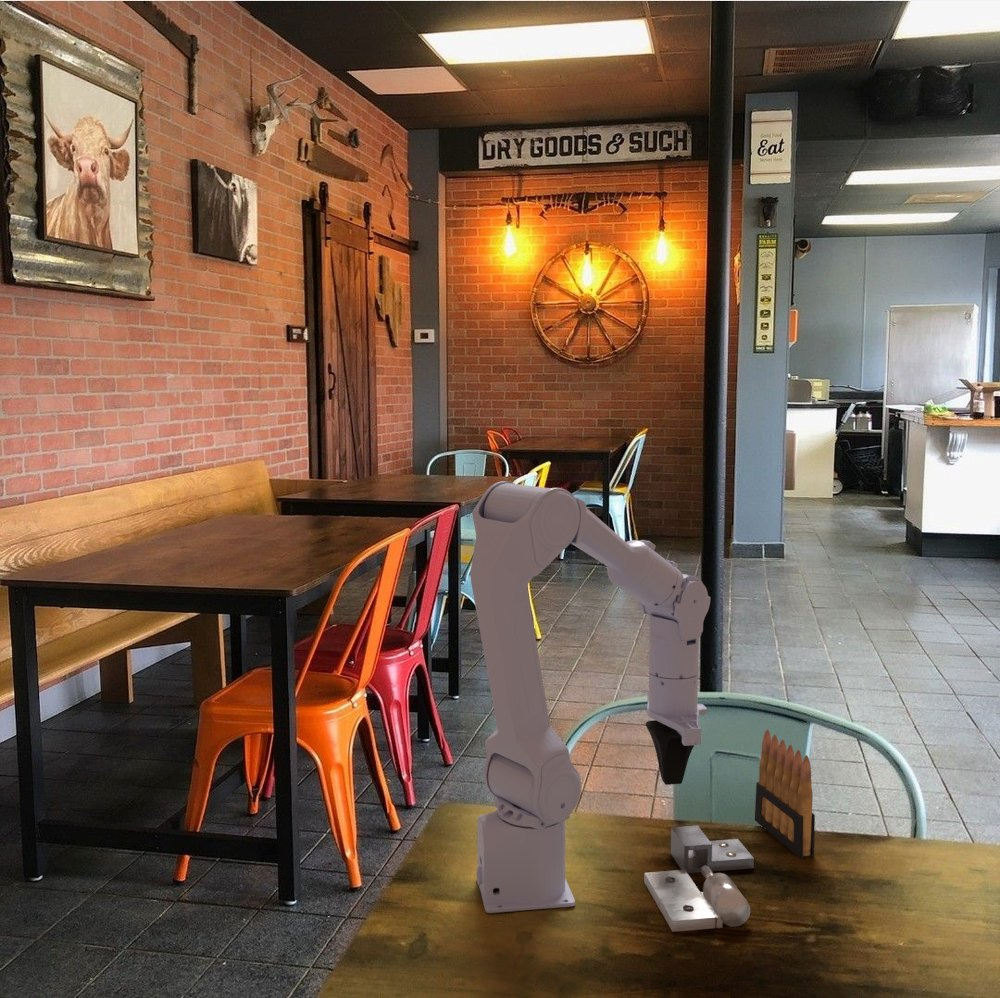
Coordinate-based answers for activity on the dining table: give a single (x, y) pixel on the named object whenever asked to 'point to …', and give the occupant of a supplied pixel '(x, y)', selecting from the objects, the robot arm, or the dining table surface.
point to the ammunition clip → (785, 796)
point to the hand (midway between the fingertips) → (671, 782)
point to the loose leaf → (707, 851)
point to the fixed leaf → (697, 900)
